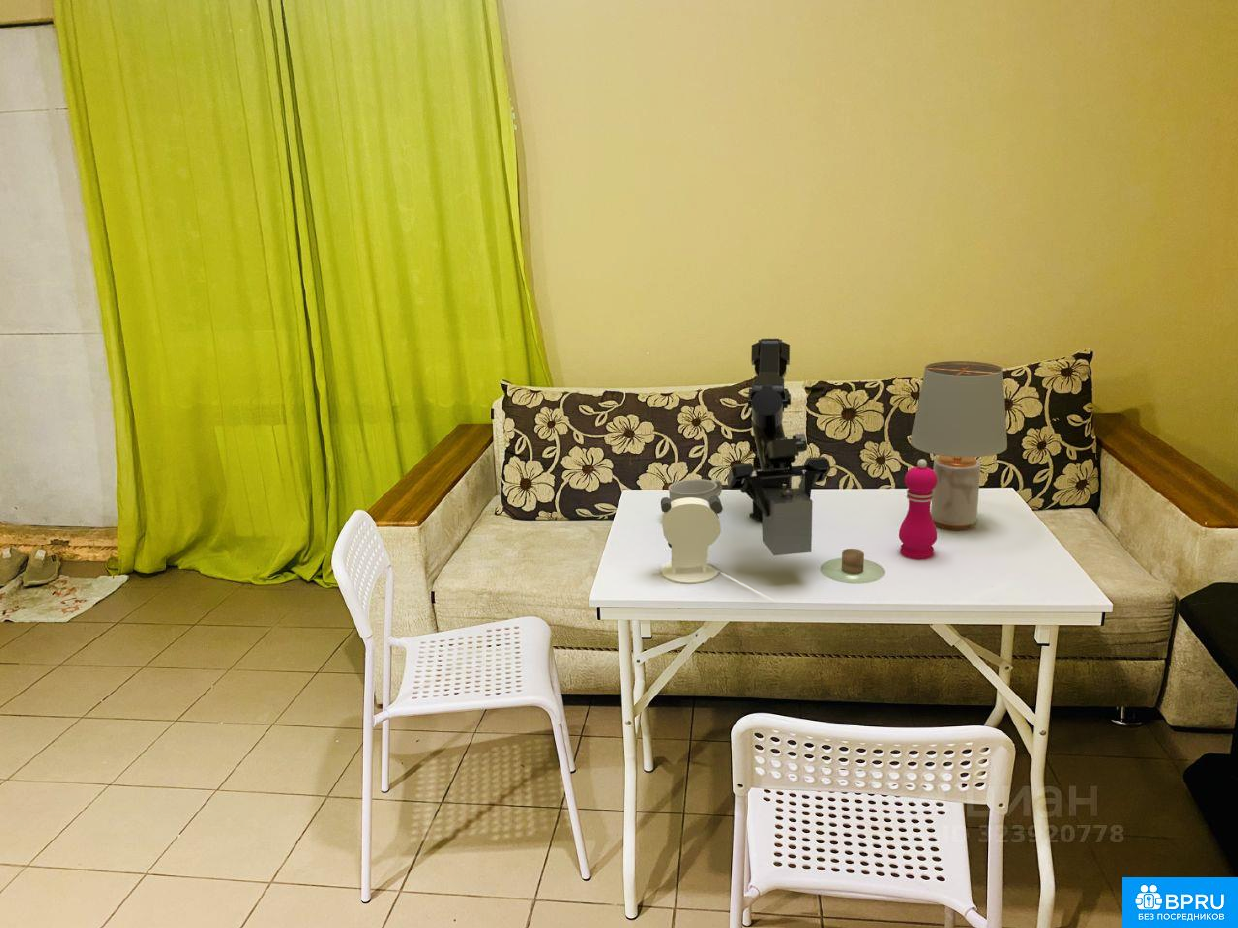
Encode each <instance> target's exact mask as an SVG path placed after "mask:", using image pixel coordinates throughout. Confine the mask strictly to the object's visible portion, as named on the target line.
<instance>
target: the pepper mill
mask: <svg viewBox="0 0 1238 928" xmlns="http://www.w3.org/2000/svg"><path fill="white" fill-rule="evenodd" d="M916 463H917V464H916V465H917V466H913V467H911V468H910V469H909V470H908V471H906V474H905V477H904V483H905V486H906V487H907V490H906V493H907V495H906V499H908V510H907V514H906V516H905V518H904V520H903V521H902V523H901V524H900V527H899V530H898V531H899V532H898V538H899V540H900V542H901V543H902V544H901V545H900V554H901V555H902V556H904V557H905V558H908V559H911V560H912V559H913V560H928V559H931V558H933V557H934V554H935V553H934V552H935V547H934V544H935V543H936V542H937V540H938V530H937V525H936V524H935V523H934V520H933V519H932V517H931V505H932V500H933V499H934V497H933V495H934V492H933V491H932V490H933V489H934V488H935V487H936V485H937V482H938V481H937V475H936V473H935V472H934V469H932V468H931V467H928V463H927V461H926V460H925V459H918V461H917V462H916Z"/></svg>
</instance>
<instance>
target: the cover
mask: <svg viewBox="0 0 1238 928" xmlns="http://www.w3.org/2000/svg"><path fill="white" fill-rule="evenodd" d="M763 492H764V495H765V498H766V502H767V505H768V510H769V516H768V517H766V516H765V515H764V513H763V522H762V542H763V543H764V544H765V545H764V546H766V547H767V549H768V550H769V551H770V553H771V554H772V555H773V556H780V555H781V556H782V555H790V554H791V555H792V554H801V553H802V554H804V553H812V547H813V546H812V542H813V539H812V538H813V537H812V536H813V500H812V499H811V497H810V498H809V497H808V496H807V495H806V494H805V493H804V492H803V491H802V490H801V489H800V488H799V487H798V488H792V489H791V488H783V489H782V490H773V491H763Z"/></svg>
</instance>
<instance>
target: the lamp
mask: <svg viewBox="0 0 1238 928" xmlns="http://www.w3.org/2000/svg"><path fill="white" fill-rule="evenodd" d="M1003 375H1004V373H1003V368H1002V367H1001V366H999V365H997V364H993V363H992V364H991V363H987V362H980V361H969V360H967V361H965V360H963V361H962V360H956V361H955V360H951V361H941V362H940V361H939V362H933V363H929V364H927V365H925V366H924V370H923V377H922V381H921V382H922V383H921V386H920V391H919V396H918V400H917V406H916V412H915V417H914V422H913V427H912V432H911V437H910V445H911V446H912V447H913V448H915V449H916V450H919V451H922V452H924V453H927V454H932V455H935V456H938V457H935V459H934V461H933V471H934V472H935V473H936V475H937V481H938V482H937V485H936V487H935V488H934V489H933V490H932V491H933V492H934V495H933V497H934V499H933V500H932V501H931V504H930V512H931V517H932V520H933V522H934V524H935V526H936V527H939V528H942V529H945V530H950V531H951V530H953V531H962V530H968V529H970V528H972V527H973V524H974V523H976V521H977V514H978V503H979V491H980V477H981V462H980V461H979V460H977V459H976V458H985V457H990V456H995V455H998V454H1001V453H1003V452H1005V451H1006V450H1007V447H1008V440H1007V438H1008V437H1007V436H1008V435H1007V422H1006V421H1007V420H1006V406H1005V404H1006V403H1005V395H1004V393H1005V391H1004V379H1003V377H1004V376H1003Z"/></svg>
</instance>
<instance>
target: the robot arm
mask: <svg viewBox="0 0 1238 928" xmlns="http://www.w3.org/2000/svg"><path fill="white" fill-rule="evenodd" d="M750 354H751V358H750V359H751V360H750V361H751V366H754V373H755V378H753V379H752V388H749V389H748V396H747V409H751V417H752V419H751V427H752V431H753V435H754V436H753V437H754V440H755V446H756V449H757V452H756V454H755V456H754V458H753V460H752V463H753V464H752V463H751V462H750V463H749V462H747V463H746V462H745V463H736V464H732V466H731V467H730V469H729V472H728V474H727V478H726V479H727V480H726V481H727V485H728V489H729V490H730V491H735V490H740V492H741V494H742V493H745V494H746V495H747V497H749V498H750V499H751V500H752V512H751V513H749V517H751V518H753V519H755V520H757V521H760V522H762V523H763V513H764V515H765V516H766V517H768V516H769V510H768V505H767V502H766V498H765V495H764V492H763V491H773V490H782V489H783V488H791V489H793V488H792V487H793V485H792V484H793V481H792V480H793V477H799V479H800V482H799V484H798V488H800V489H801V490H802V491H803V492H804V493H805V494H806V495H807V496H808V497H809V498H810V499H811V496H812V495H811V494H812V489H813V487H814V486H815V485H816V484H817V483H822V482H824V481H825V479H826V477H827V476H828V474H829V472H830V471H831V469H832V468H831V465H830V461H829V460H828V459H827V458H826V457H825V456H819V457H808V458H806V459H805V461H804V463H803V465H802V464H801V465H793V464H792V463H795V462H796V460H797V459H796V457H799V452H800V453H804V452H805V451H807V450H808V444H807V438H806V436H805V433H796V434H795V435H792V438H789V437H788V436H786V435H785V431H784V427H783V423H782V422H783V418H784V417H783V416H784V414H783V413H784V411H785V409H788V406H791V405H792V394H791V392H789V388H785V377H786V375H787V369H788V368H787V366H790V364H791V361H790V359H791V344H788V343H785V342H783V340H782V339H779V338H761V339H759V340H758V342H756V343H754V344H752V345H751V353H750Z"/></svg>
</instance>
